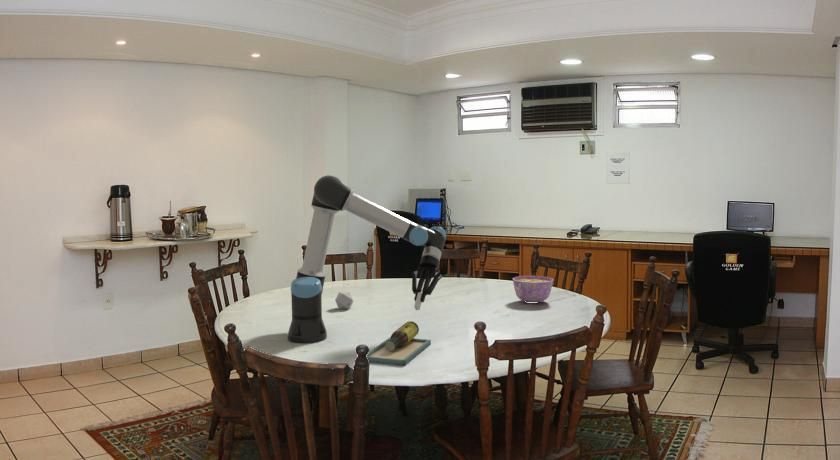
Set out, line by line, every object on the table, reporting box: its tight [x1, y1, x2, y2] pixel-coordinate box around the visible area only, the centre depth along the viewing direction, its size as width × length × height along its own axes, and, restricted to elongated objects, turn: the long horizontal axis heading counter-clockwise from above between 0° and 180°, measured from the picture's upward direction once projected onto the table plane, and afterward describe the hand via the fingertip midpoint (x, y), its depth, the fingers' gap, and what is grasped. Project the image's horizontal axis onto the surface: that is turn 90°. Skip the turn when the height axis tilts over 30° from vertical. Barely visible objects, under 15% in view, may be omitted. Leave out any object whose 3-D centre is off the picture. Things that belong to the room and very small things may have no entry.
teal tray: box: [367, 336, 432, 367], centre depth 234 cm, size 28×16×2 cm, turn 161°
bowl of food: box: [512, 275, 554, 303], centre depth 320 cm, size 20×20×12 cm
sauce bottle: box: [385, 320, 420, 351], centre depth 240 cm, size 6×6×20 cm
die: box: [334, 291, 354, 310], centre depth 308 cm, size 8×9×10 cm
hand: (416, 308), depth 252 cm, fingers closed
